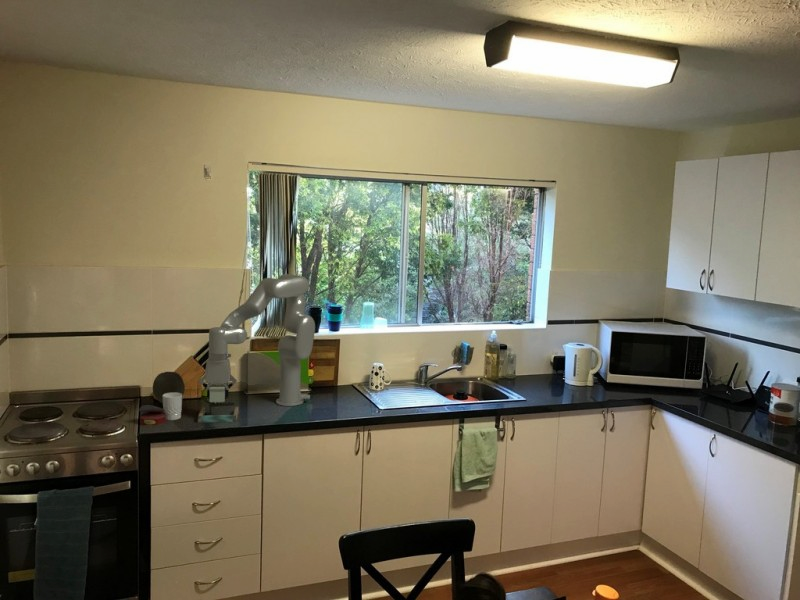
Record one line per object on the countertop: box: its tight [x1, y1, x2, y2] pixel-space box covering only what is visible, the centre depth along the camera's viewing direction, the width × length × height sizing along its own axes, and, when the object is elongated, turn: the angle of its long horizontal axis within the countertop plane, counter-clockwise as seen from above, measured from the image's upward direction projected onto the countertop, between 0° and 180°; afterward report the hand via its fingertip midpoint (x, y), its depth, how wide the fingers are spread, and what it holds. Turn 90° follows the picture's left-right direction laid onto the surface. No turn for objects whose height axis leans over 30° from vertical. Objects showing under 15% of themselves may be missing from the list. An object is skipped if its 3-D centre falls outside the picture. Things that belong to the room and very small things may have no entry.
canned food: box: [138, 404, 166, 427], centre depth 266 cm, size 11×10×10 cm
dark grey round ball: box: [152, 371, 186, 405], centre depth 290 cm, size 14×14×15 cm
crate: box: [209, 384, 226, 403], centre depth 272 cm, size 6×6×6 cm
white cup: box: [162, 392, 183, 421], centre depth 272 cm, size 8×8×10 cm
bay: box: [197, 406, 239, 423], centre depth 275 cm, size 15×13×2 cm
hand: (217, 398), depth 272 cm, fingers closed on crate, 6 cm apart
